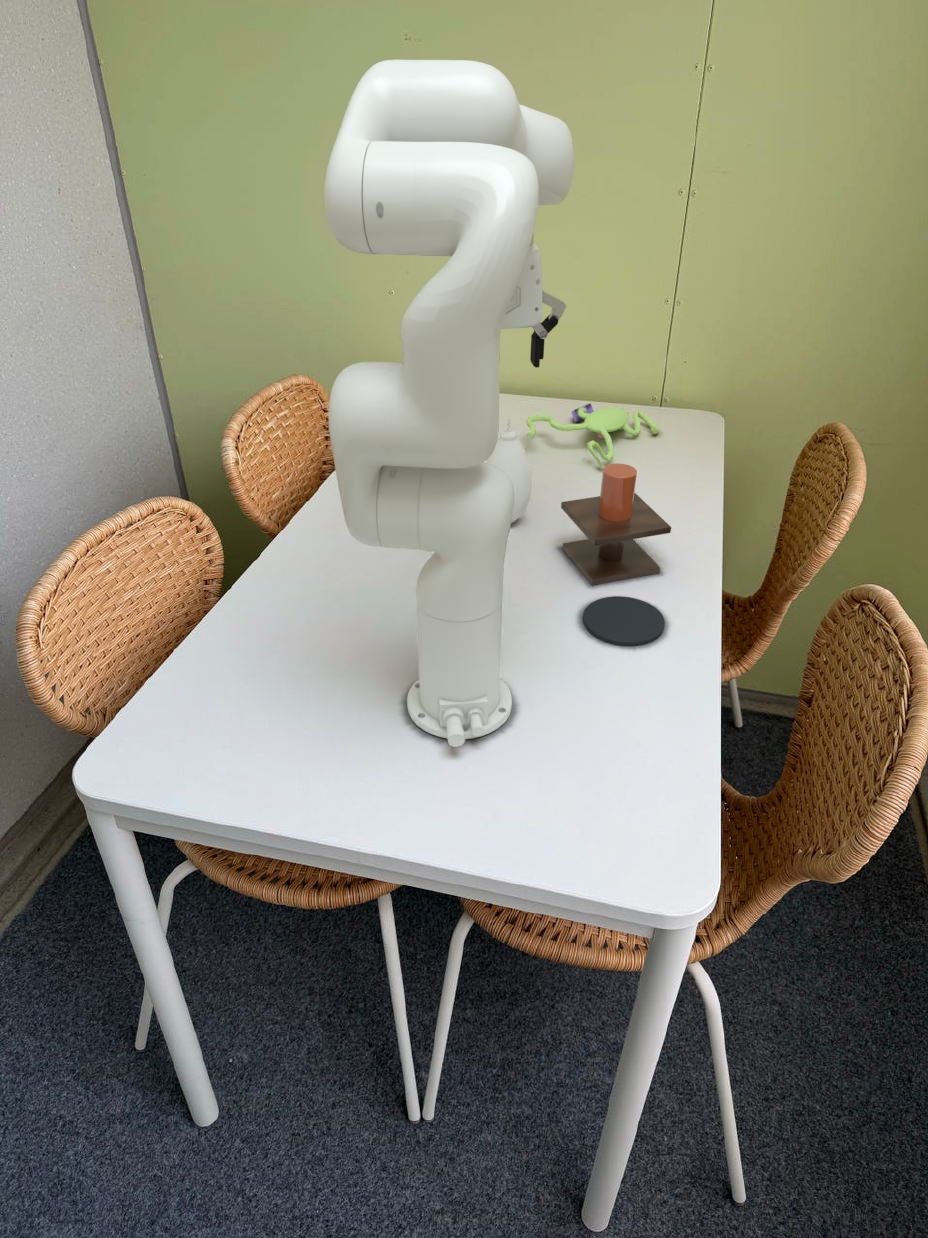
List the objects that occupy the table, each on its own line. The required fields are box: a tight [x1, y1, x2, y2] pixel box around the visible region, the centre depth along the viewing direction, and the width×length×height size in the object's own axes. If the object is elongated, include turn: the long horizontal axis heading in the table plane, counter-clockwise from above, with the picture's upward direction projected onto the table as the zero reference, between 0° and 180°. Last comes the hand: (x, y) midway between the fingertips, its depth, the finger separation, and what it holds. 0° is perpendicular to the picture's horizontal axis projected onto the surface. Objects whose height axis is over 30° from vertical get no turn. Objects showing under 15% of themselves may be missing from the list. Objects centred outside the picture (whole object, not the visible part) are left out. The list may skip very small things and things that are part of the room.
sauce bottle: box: [485, 416, 532, 524], centre depth 137 cm, size 8×8×18 cm
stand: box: [560, 492, 672, 586], centre depth 130 cm, size 12×12×8 cm
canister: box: [599, 462, 638, 522], centre depth 125 cm, size 5×5×7 cm
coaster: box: [582, 595, 666, 647], centre depth 119 cm, size 11×11×1 cm
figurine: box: [525, 403, 660, 470], centre depth 167 cm, size 18×27×6 cm
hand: (501, 365), depth 122 cm, fingers open, 9 cm apart
